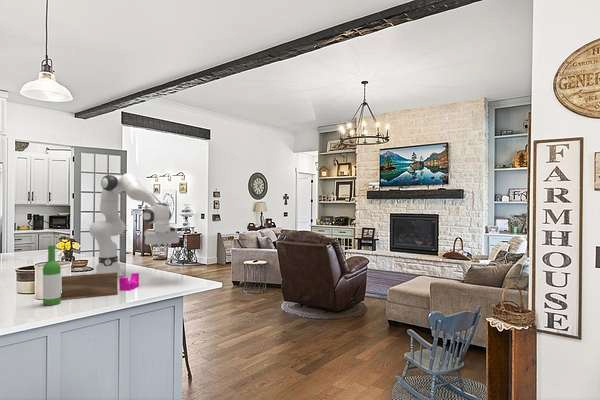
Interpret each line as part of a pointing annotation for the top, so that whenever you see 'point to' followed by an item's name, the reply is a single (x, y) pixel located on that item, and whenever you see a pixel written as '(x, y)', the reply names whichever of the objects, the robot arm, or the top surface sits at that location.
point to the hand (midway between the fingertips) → (162, 251)
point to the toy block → (129, 282)
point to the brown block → (89, 285)
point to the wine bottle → (51, 279)
